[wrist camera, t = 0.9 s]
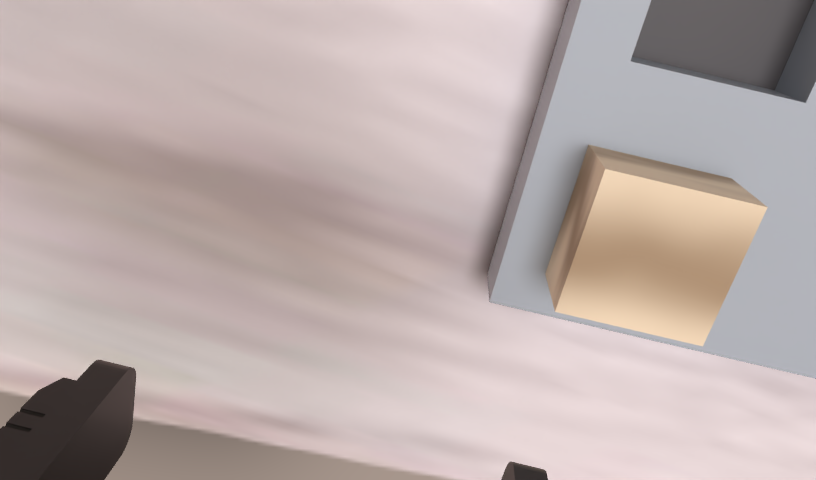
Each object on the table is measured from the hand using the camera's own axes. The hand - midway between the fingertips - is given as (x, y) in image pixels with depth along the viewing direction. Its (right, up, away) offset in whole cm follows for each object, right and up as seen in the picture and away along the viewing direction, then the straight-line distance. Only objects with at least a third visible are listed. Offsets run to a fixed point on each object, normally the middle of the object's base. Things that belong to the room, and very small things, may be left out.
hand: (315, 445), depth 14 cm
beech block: (+12, +5, +14) cm, 19 cm away
